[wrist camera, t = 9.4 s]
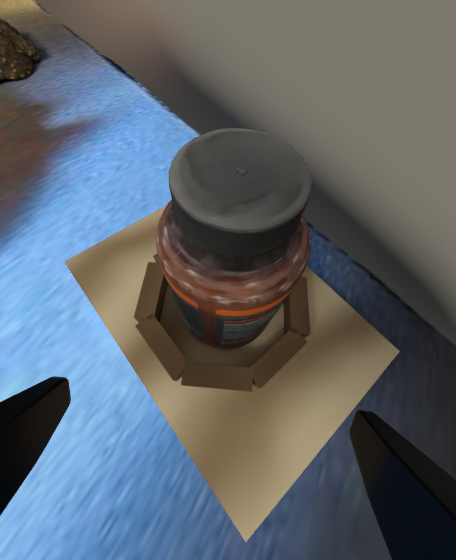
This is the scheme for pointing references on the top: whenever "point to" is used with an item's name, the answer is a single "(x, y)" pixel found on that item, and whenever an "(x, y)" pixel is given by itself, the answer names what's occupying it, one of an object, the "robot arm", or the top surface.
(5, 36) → the bread roll
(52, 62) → the top surface
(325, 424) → the holder board
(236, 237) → the supplement bottle
